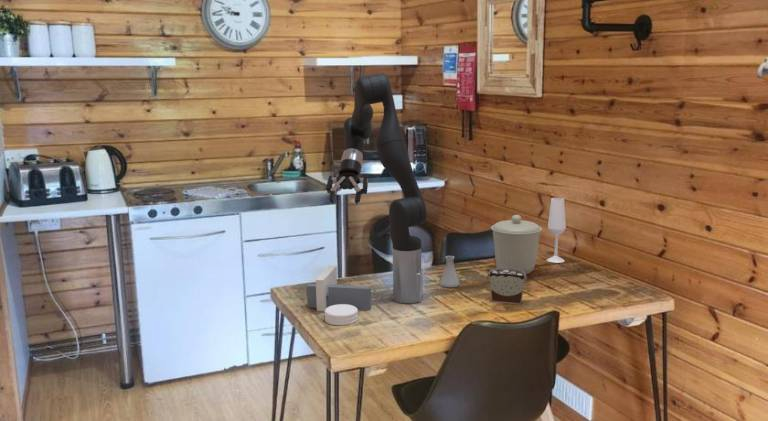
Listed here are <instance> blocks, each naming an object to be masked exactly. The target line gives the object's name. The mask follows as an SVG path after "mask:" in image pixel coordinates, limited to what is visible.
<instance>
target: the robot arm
mask: <svg viewBox="0 0 768 421" xmlns="http://www.w3.org/2000/svg"><path fill="white" fill-rule="evenodd" d="M379 103H382V106H383V116H382V121H381V125H380V127H379V129H378V130H379V131H378V133H377V136H376V140H375V146H376V149H377V154H378V157H379V160H380V163H381V165H382V166H383V168H384V169H385V170H386V172H387V173H388V174H389V175H390V176H391V177H392V178H393V179H394V180H395V181H396V182H397V184H398V185H399V187H400V189H401V191H402V194H403V197H404V198H397V199H394V200H392V201H391V203H390V205H389V209H388V220H389V234H390V235H389V236H390V240H391V244H392V297H393V299H392V300H393V301H395V302H396V303H400V304H414V303H421V301H422V299H423V296H424V294H423V293H424V290H423V286H424V284H423V283H424V282H423V280H424V279H423V277H424V276H423V274H424V273H423V272H424V270H423V268H422V239H421V238H420V237H418V236H415V235H410V229H409V228H410V227H416V226H420V225H423V224H425V222H426V220H427V215H428V214H427V213H428V212H427V207H426V204H425V199H424V196H423V195H422V193H421V190H420V187H419V185H418V182H417V179H416V177H415V173H414V170H413V168H412V167H413V166H412V164H411V160H410V156H409V152H408V149H407V148H408V147H407V144H406V141H405V137H404V134H403V131H402V129H401V125H400V122H399V117H398V114H397V110H396V105H395V98H394V95H393V90H392V86H391V82H390V79H389V78H388V76H387V74H385V73H376V74H369V75H364V76H361V77H359V78H357V80H356V82H355V86H354V107H353V112H352V114H351V117H348V118H346V119H345V121H344V123H343V128H342V129H343V135H344V148H343V153H342V156H341V159H340V160H341V161H340V165H339V170H338V174H337V176H336V177H335V176H334V177H333V175H328V179H327V182H326V185H325V190H326V193H327V194H329V201H330V203H331V204H335V200H336V194H337V193H339V192H340V191H342V190H352V189H354V191H355V196H354V204H356V205H358V204H359V203H360V202H361V199H362V198H361V197H362V195H363V194H364V195H367V194H368V188H369V186H368V184H369V180H368V176H367V175H364V176H363V177H361V172H362V167H363V155H364V150H365V143H364V141H365V140H368V139H370V137H371V136H372V132H373V124H372V119H373V117H374V108H373V107H372V105H375V104H379ZM335 182H336V183H335ZM360 183H361V184H362V188H360V187H359V184H360ZM333 185H334V186H333Z"/></svg>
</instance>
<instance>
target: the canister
mask: <svg viewBox="0 0 768 421" xmlns="http://www.w3.org/2000/svg"><path fill="white" fill-rule="evenodd" d="M490 230H491V231H492V238H493V239H492V240H493V248H494V256H495V264H496V265H495V266H496V268H516V269H520V270H522V271H524V272H525V274H526V275H528V274H530V273H532V272H533V271H534V269H535V267H536V263H537V256H538V249H539V242H540V235H541V232H542V231H543V228H542V226H541V225H539V224H537V223H536V222H532V221H529V220H522V216H521V215H519V214H514V215H512V216H511V219H508V220H501V221H500V220H499V221H497V222H496V223H494V224H492V225H491V226H490Z"/></svg>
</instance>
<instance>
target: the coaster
mask: <svg viewBox="0 0 768 421" xmlns="http://www.w3.org/2000/svg"><path fill="white" fill-rule="evenodd" d="M358 312H359V310H358V309H357V308H356V307H355V306H352V305H347V304H338V305H332V306H329V307H328V308H326V309H325V311H324V321H325V322H326V323H327V324H329V325H332V326H348V325H352V324H355V323H357V321H358V320H359V313H358Z"/></svg>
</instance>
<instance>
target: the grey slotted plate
mask: <svg viewBox="0 0 768 421" xmlns="http://www.w3.org/2000/svg"><path fill="white" fill-rule="evenodd" d="M371 289H372V288H371V286H369V285H367V286H366V285H350V284H349V285H346V284H345V285H344V284H337V285H330V286H329V287H328V292H329V296H327V297H326V303H327V308H328V307H329V306H332V305H338V304H347V305H352V306H355V307H356V308H357V309H358V311H370V310H371V308H372V297H371V296H372V294H371V293H372V290H371ZM306 304H307V308H314V309H315V308H316V309H317V302H316V283H308V284H307V285H306Z"/></svg>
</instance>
